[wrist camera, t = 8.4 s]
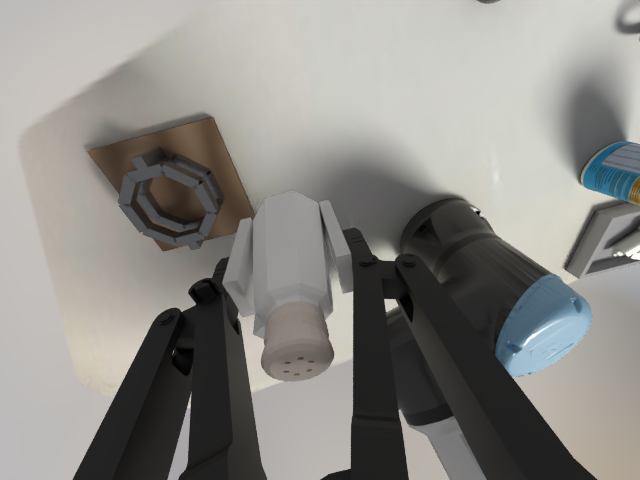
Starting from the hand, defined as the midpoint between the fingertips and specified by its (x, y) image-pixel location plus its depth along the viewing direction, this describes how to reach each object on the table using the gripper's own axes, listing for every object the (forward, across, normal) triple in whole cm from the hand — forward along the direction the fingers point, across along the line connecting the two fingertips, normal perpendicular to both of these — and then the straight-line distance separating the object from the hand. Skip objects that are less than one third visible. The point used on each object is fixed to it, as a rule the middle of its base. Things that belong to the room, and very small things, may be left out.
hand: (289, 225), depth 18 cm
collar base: (+19, +15, +2) cm, 25 cm away
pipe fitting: (+18, -66, +31) cm, 75 cm away
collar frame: (+19, +15, +2) cm, 25 cm away
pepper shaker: (+1, 0, 0) cm, 1 cm away
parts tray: (+18, -65, +30) cm, 74 cm away
